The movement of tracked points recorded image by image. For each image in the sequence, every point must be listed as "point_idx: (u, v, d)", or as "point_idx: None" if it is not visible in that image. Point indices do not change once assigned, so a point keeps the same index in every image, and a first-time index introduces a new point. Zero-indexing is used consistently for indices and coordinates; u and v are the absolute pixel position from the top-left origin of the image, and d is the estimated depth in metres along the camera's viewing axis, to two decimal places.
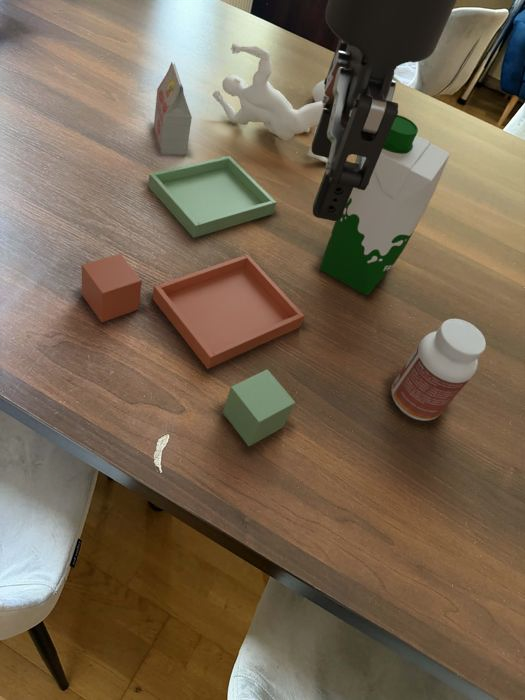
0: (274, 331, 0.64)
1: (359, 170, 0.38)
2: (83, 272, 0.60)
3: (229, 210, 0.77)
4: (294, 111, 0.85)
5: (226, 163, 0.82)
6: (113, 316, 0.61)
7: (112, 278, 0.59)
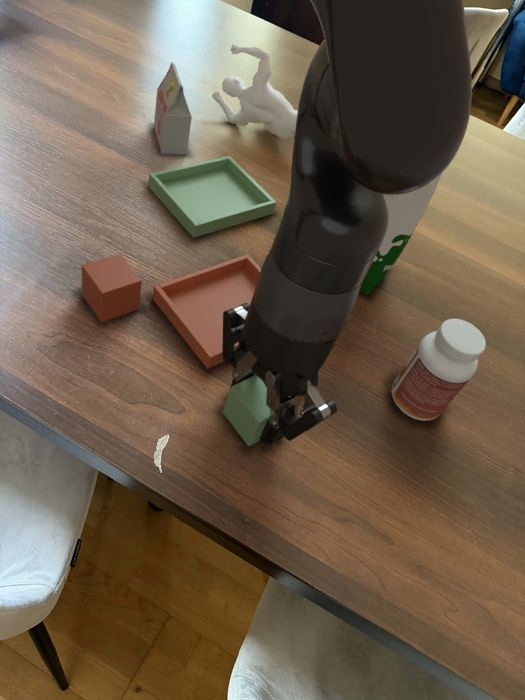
0: None
1: None
2: (83, 272, 0.60)
3: (229, 210, 0.77)
4: (294, 112, 0.85)
5: (226, 163, 0.82)
6: (113, 316, 0.61)
7: (112, 278, 0.59)
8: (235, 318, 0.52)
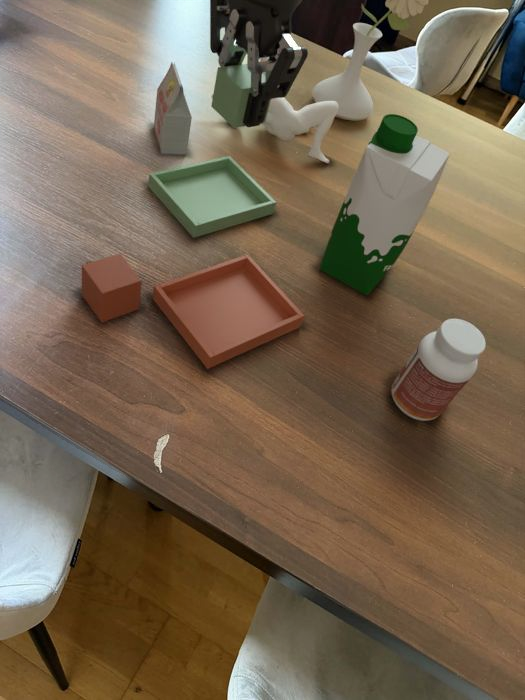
0: (274, 331, 0.64)
1: (279, 85, 0.59)
2: (83, 272, 0.60)
3: (229, 210, 0.77)
4: (295, 112, 0.85)
5: (226, 163, 0.82)
6: (113, 316, 0.61)
7: (112, 278, 0.59)
8: None
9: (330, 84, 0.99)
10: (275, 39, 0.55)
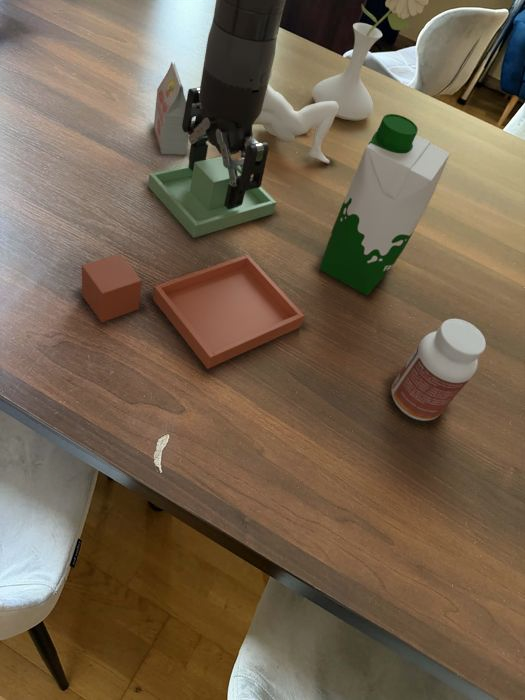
0: (274, 331, 0.64)
1: (253, 179, 0.70)
2: (83, 272, 0.60)
3: (229, 210, 0.77)
4: (295, 113, 0.85)
5: None
6: (113, 316, 0.61)
7: (112, 278, 0.59)
8: (196, 96, 0.71)
9: (330, 84, 0.99)
10: (239, 144, 0.68)
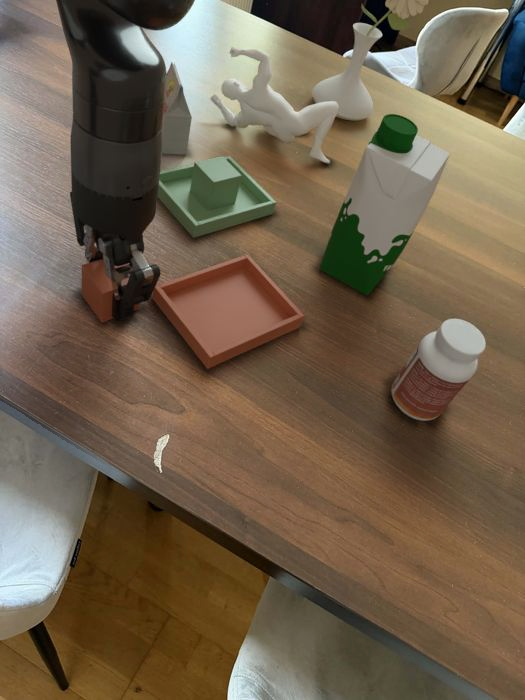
0: (274, 331, 0.64)
1: None
2: (83, 272, 0.60)
3: (229, 210, 0.77)
4: (295, 113, 0.85)
5: None
6: None
7: None
8: None
9: (330, 84, 0.99)
10: (126, 258, 0.53)
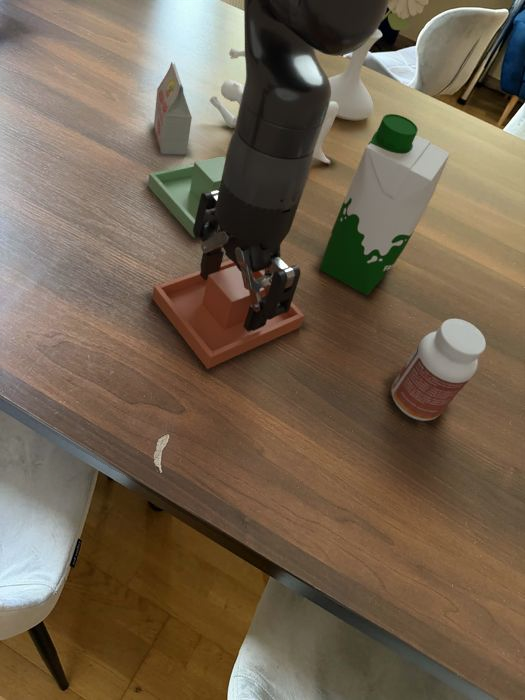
0: (274, 331, 0.64)
1: (280, 303, 0.58)
2: (209, 282, 0.62)
3: None
4: None
5: None
6: (234, 323, 0.64)
7: (238, 287, 0.62)
8: (211, 201, 0.59)
9: (330, 84, 0.99)
10: (264, 266, 0.56)
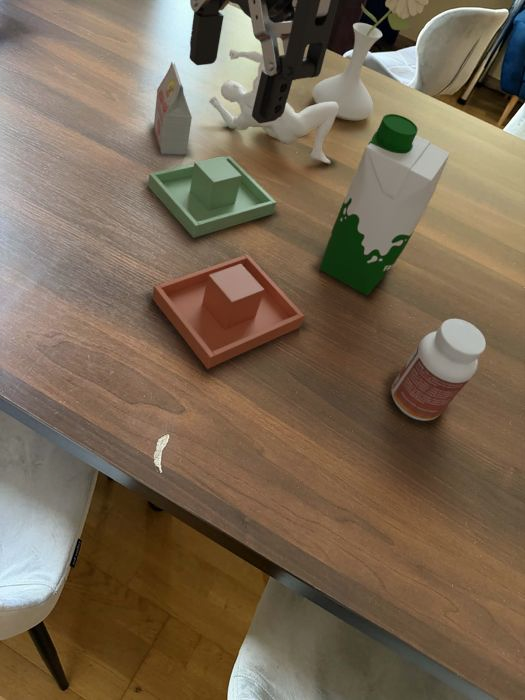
0: (274, 331, 0.64)
1: (308, 58, 0.39)
2: (209, 282, 0.62)
3: (229, 210, 0.77)
4: (296, 115, 0.85)
5: None
6: (234, 323, 0.64)
7: (238, 287, 0.62)
8: None
9: (330, 84, 0.99)
10: None
